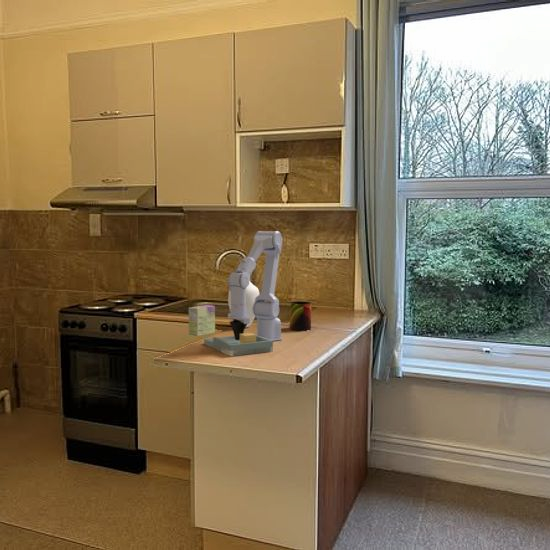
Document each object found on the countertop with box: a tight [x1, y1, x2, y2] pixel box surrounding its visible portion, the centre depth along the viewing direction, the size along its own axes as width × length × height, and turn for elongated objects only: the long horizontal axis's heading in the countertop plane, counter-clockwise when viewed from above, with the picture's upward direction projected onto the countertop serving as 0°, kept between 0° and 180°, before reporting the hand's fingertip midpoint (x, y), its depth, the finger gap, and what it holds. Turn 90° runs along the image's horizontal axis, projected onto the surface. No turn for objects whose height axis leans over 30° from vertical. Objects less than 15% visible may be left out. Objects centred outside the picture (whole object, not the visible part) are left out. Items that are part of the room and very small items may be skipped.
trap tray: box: [203, 333, 274, 357], centre depth 211 cm, size 17×24×4 cm
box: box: [188, 304, 216, 337], centre depth 237 cm, size 10×6×12 cm, turn 141°
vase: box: [227, 281, 260, 329], centre depth 253 cm, size 14×14×28 cm
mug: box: [289, 301, 312, 332], centre depth 251 cm, size 10×14×12 cm
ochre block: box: [240, 332, 257, 344], centre depth 203 cm, size 4×4×4 cm
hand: (238, 339), depth 210 cm, fingers closed
